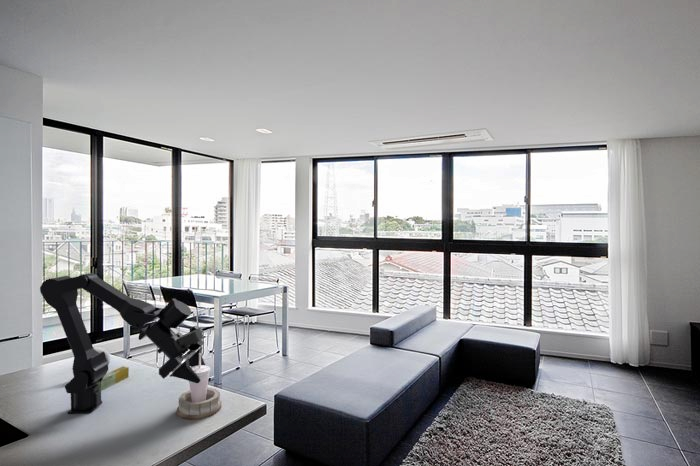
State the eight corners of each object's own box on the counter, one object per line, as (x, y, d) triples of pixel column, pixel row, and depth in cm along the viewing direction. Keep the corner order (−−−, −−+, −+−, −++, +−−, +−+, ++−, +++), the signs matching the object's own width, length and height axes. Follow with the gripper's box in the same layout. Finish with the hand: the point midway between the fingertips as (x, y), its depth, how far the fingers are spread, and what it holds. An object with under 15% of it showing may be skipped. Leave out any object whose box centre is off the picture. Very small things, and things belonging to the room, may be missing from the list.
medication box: (99, 392, 127) (99, 379, 126) (92, 391, 127) (92, 378, 127) (129, 377, 138) (129, 366, 138) (122, 376, 139) (122, 365, 139)
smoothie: (214, 397, 118) (214, 351, 117) (203, 407, 111) (203, 358, 111) (194, 396, 119) (194, 349, 118) (182, 405, 112) (182, 357, 112)
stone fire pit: (171, 420, 108) (170, 406, 108) (184, 400, 120) (184, 387, 120) (216, 418, 110) (216, 404, 110) (225, 398, 122) (224, 386, 122)
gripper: (170, 328, 105) (211, 370, 105) (197, 312, 123) (233, 348, 124) (140, 357, 105) (182, 399, 105) (172, 336, 124) (207, 372, 124)
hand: (203, 377), depth 115 cm, fingers closed on smoothie, 6 cm apart
